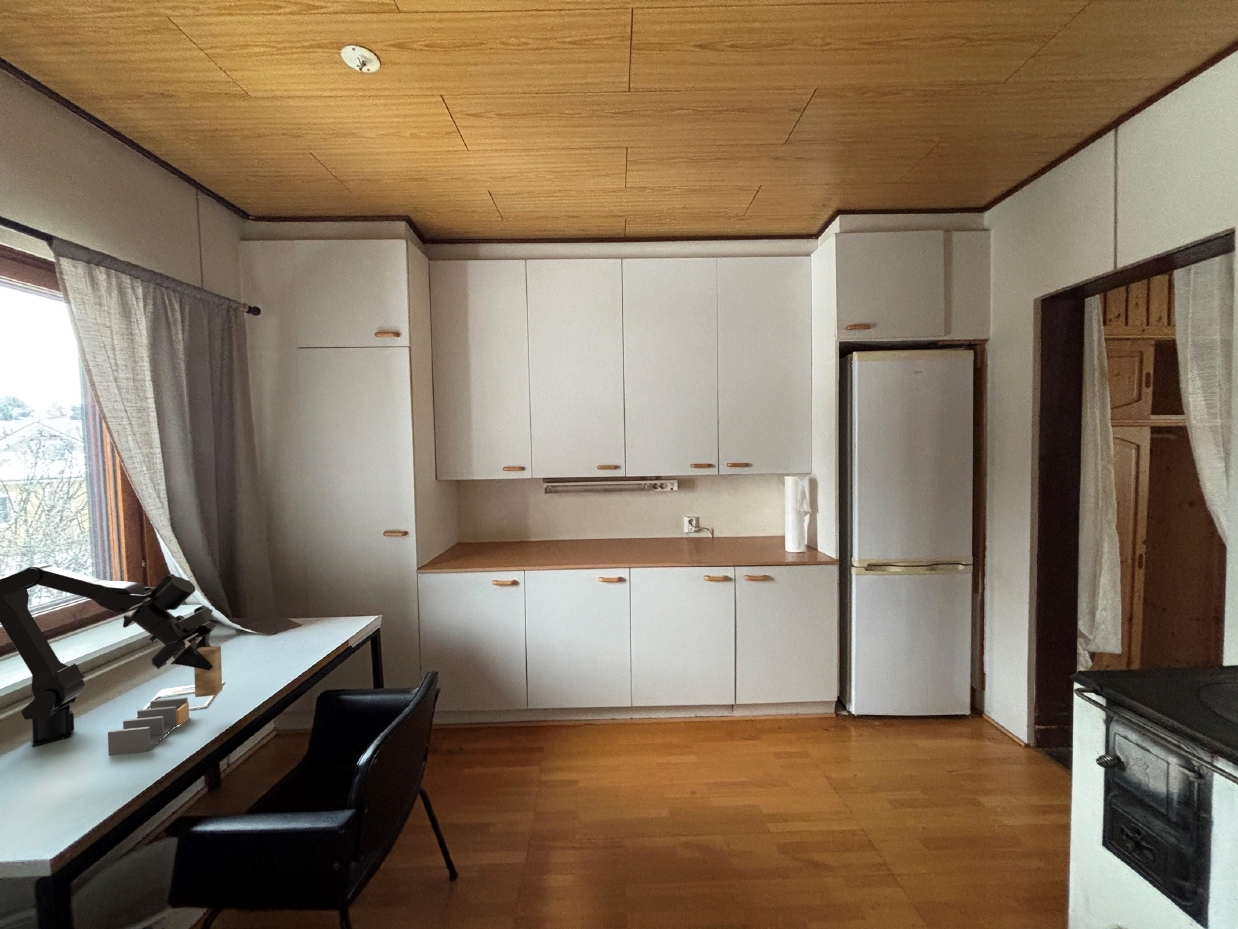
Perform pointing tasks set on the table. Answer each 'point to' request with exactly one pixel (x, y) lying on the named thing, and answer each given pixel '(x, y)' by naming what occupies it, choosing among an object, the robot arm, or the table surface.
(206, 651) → the wooden block
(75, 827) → the table surface
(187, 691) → the photo frame
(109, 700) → the table surface
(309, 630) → the table surface
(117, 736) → the rack
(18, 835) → the table surface
